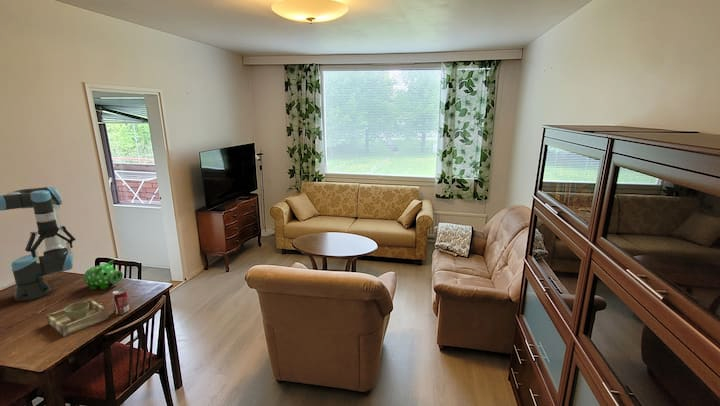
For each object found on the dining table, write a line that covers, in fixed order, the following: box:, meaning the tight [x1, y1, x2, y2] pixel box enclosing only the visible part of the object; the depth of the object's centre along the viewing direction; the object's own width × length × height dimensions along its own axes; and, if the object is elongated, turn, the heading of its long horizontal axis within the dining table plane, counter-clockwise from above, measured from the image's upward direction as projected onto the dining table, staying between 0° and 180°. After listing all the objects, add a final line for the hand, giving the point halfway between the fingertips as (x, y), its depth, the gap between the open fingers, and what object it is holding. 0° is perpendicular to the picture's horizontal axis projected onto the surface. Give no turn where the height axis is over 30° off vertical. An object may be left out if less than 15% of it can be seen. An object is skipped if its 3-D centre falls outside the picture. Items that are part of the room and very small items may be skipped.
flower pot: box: [63, 301, 89, 321], centre depth 175 cm, size 10×10×7 cm
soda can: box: [111, 288, 130, 315], centre depth 183 cm, size 7×7×12 cm
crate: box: [46, 298, 110, 338], centre depth 175 cm, size 19×19×5 cm
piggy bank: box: [83, 259, 124, 290], centre depth 210 cm, size 14×18×15 cm
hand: (54, 258), depth 183 cm, fingers open, 13 cm apart
